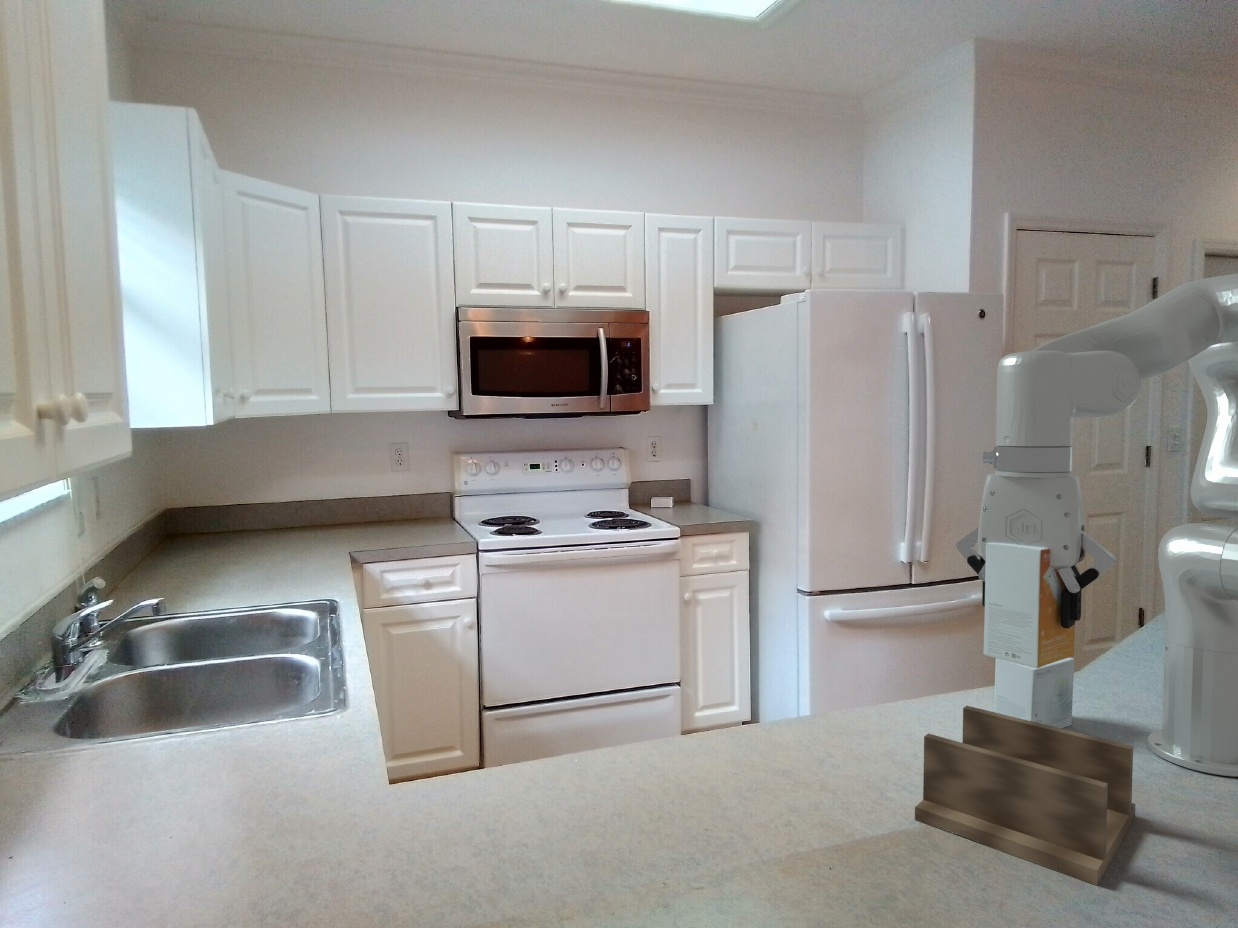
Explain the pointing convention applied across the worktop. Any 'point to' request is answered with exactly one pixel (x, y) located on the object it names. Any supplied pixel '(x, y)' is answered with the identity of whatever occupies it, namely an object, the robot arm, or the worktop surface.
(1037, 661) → the small box
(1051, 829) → the book rack
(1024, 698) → the skincare box
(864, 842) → the worktop surface
